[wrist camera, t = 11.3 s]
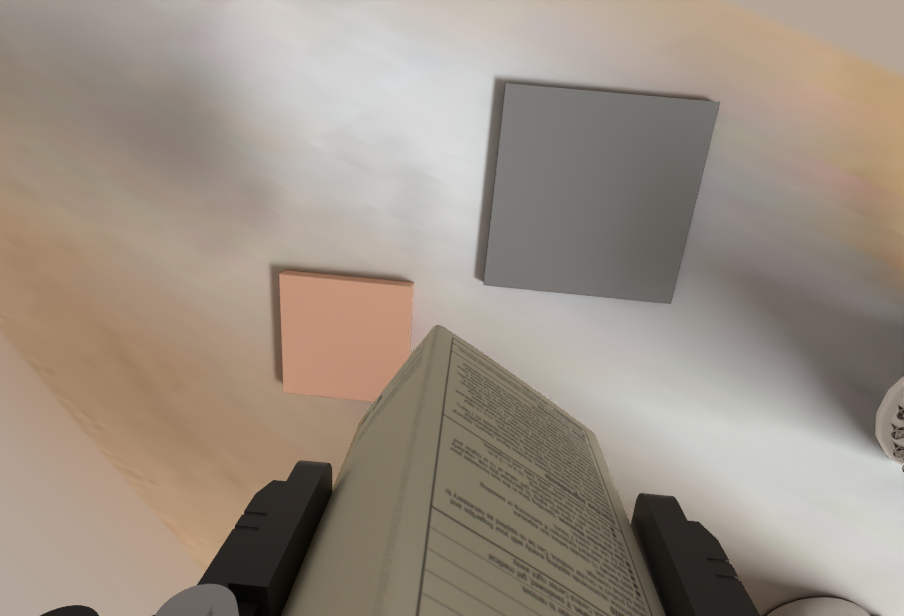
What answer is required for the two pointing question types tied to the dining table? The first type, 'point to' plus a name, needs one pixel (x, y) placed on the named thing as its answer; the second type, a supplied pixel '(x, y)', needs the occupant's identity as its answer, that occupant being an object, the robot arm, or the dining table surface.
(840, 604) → the robot arm
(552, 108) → the rubber mat
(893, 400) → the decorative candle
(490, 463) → the skincare box
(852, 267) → the dining table surface
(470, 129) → the dining table surface
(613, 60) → the dining table surface
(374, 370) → the glazed tile
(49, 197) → the dining table surface
